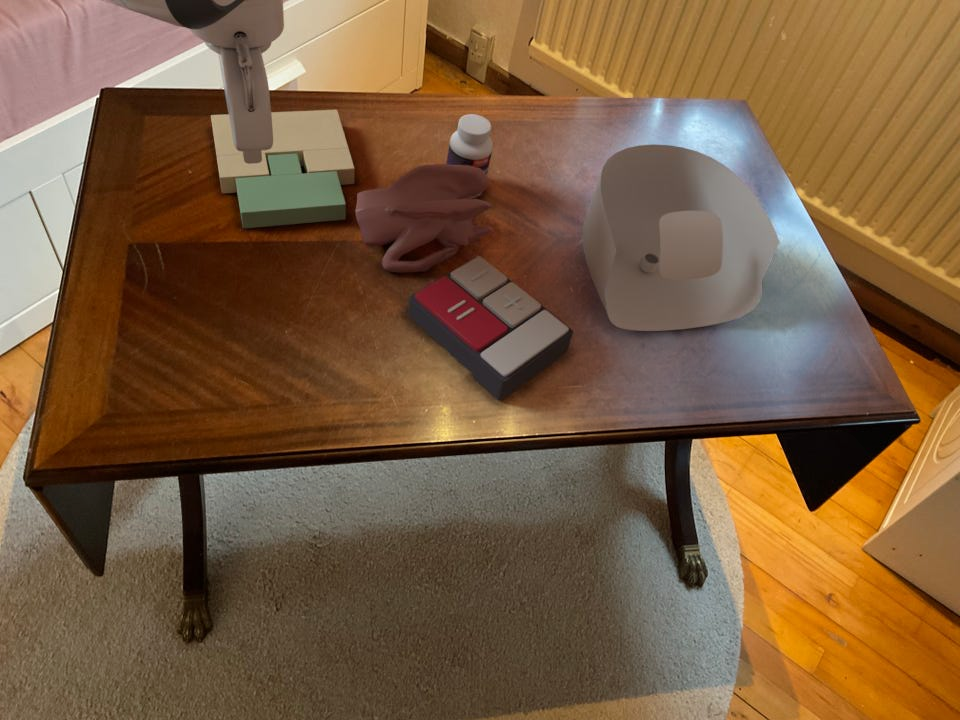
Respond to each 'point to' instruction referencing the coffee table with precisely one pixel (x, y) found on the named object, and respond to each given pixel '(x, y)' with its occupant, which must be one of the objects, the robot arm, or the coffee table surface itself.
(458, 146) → the pill bottle
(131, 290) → the coffee table surface
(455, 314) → the calculator
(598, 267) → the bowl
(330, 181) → the green pad
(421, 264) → the figurine
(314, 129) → the beige pad
